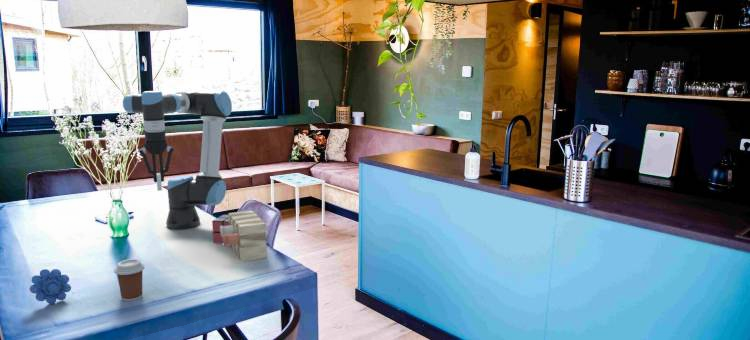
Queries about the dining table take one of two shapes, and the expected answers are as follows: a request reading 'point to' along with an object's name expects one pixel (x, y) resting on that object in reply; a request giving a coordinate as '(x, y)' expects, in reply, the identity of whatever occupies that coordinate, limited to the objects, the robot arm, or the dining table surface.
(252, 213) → the socket block
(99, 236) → the dining table surface
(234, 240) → the terracotta plug
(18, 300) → the dining table surface
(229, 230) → the white plug
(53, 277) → the blue lumpy lobed piece
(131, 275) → the coffee cup
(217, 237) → the puzzle cube
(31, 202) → the dining table surface
